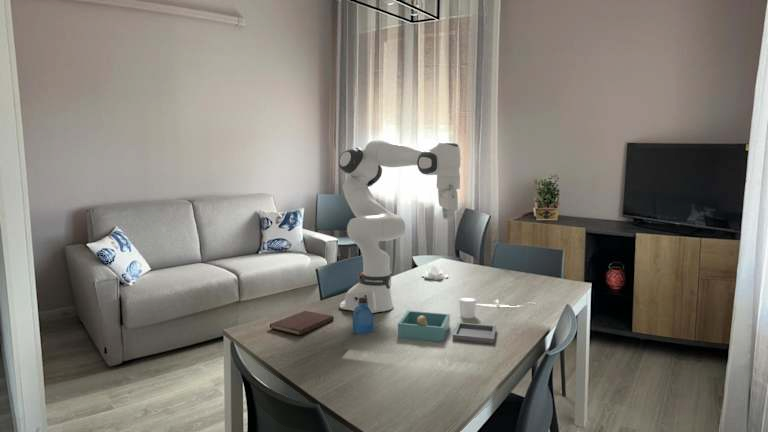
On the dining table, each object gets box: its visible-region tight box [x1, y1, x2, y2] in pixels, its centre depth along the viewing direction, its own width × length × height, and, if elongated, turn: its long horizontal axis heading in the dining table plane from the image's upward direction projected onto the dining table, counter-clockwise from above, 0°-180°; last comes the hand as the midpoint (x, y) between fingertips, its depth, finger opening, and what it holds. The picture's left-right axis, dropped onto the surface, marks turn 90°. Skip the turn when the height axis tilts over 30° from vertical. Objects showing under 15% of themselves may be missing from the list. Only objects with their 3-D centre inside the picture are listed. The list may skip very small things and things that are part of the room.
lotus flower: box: [421, 265, 449, 281], centre depth 259 cm, size 14×15×9 cm
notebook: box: [269, 310, 335, 336], centre depth 196 cm, size 15×20×2 cm
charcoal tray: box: [452, 322, 497, 345], centre depth 183 cm, size 14×14×2 cm
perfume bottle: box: [352, 298, 374, 335], centre depth 187 cm, size 6×6×12 cm
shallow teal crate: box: [397, 310, 451, 343], centre depth 186 cm, size 16×16×5 cm
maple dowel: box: [417, 315, 428, 326], centre depth 183 cm, size 3×3×9 cm
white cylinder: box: [458, 296, 478, 319], centre depth 205 cm, size 7×7×7 cm
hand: (447, 220), depth 198 cm, fingers open, 8 cm apart
